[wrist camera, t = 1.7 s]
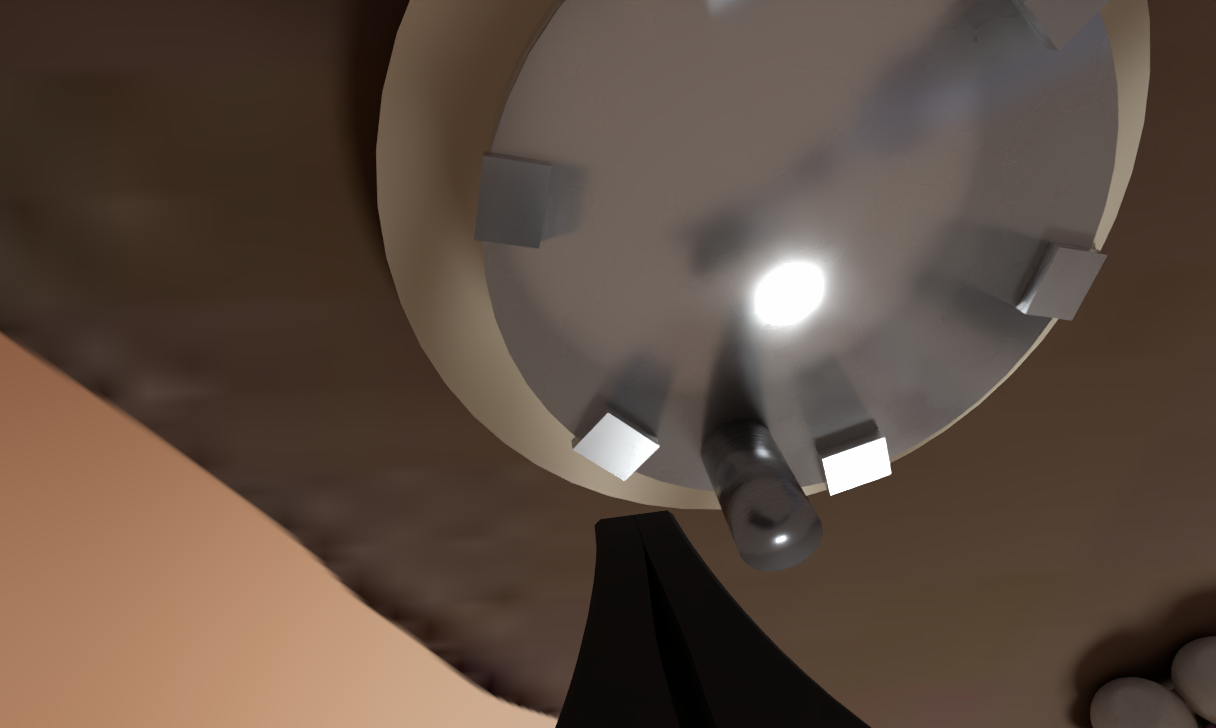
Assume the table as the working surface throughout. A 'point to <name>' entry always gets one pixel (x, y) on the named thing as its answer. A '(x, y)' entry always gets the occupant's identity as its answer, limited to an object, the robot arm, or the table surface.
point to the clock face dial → (790, 229)
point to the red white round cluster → (1163, 694)
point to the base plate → (448, 197)
